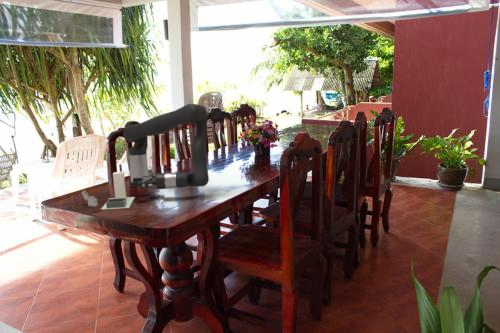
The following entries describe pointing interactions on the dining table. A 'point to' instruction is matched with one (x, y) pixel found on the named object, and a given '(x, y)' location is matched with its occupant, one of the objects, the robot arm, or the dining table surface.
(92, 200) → the lighter
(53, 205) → the dining table surface
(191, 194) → the dining table surface
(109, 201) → the board
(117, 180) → the cream rectangular pillar
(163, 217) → the dining table surface
